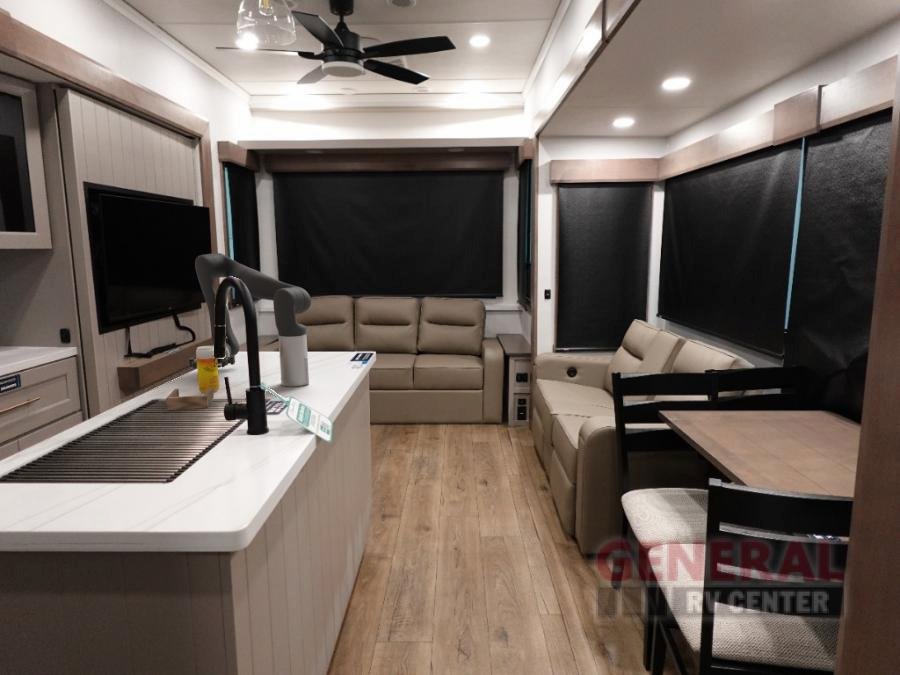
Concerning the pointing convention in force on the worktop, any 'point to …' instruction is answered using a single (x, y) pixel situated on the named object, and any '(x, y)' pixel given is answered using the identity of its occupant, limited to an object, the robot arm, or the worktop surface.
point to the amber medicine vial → (207, 369)
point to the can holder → (189, 400)
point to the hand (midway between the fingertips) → (208, 364)
